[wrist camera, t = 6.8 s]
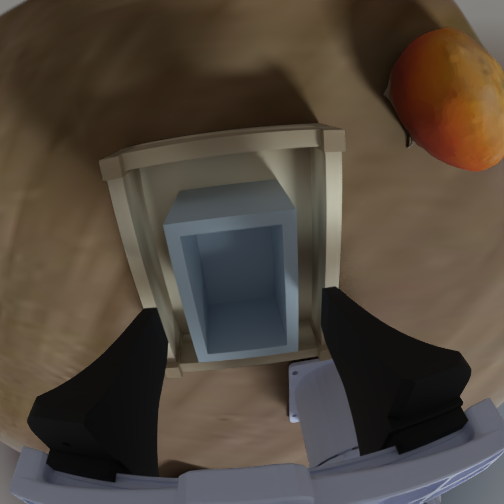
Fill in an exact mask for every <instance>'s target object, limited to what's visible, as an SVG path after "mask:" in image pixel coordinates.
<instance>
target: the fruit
mask: <svg viewBox="0 0 504 504" xmlns="http://www.w3.org/2000/svg"><path fill="white" fill-rule="evenodd" d="M383 95H384V96H385V97H387V98H388V99H389V100H390V102H391V104H392V106H393V107H394V109H395V111H396V113H397V115H398V118H399V119H400V121H401V123H402V124H403V126H404V127H405V128H406V129H407V131H408V132H409V134H410V136H411V141H412V142H411V144H410V145H409V146H408V148H407V149H409V148H410V147H411V146H413V145H414V144H415V143H416V144H417V145H418V146H420V147H422V148H423V149H425V150H426V151H427V152H428V153H429V154H430V155H432V156H433V157H435V158H437V159H438V160H440V161H442V162H445V163H447V164H449V165H452V166H454V167H457V168H461V169H465V170H470V171H482V170H485V169H487V168H489V167H491V166H493V165H495V164H497V163H499V161H500V160H501V159H502V158H503V157H504V73H503V70H502V68H501V67H500V65H499V63H498V62H497V61H496V60H495V59H494V58H493V57H492V56H491V55H490V54H489V53H488V52H487V51H486V50H484V49H483V48H482V47H481V46H480V45H479V44H477V43H476V42H475V41H474V40H473V39H471V38H470V37H469V36H468V35H467V34H465V33H464V32H462V31H460V30H458V29H455V28H452V27H444V28H441V29H437V30H434V31H430V32H427V33H425V34H423V35H421V36H419V37H418V38H416V39H415V40H414V41H413V42H412V43H410V44H409V45H408V46H407V47H406V49H405V50H404V51H403V53H402V54H401V55H400V57H399V58H398V59H397V61H396V62H395V63H394V65H393V67H392V70H391V72H390V77H389V81H388V87H387V89H386V90H385V93H384V94H383Z"/></svg>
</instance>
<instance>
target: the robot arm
mask: <svg viewBox="0 0 504 504" xmlns="http://www.w3.org/2000/svg"><path fill="white" fill-rule="evenodd" d="M321 328H322V332H323V335H324V339H325V342H326V345H327V347H328V350H329V352H330V355H331V357H332V359H330V360H325V361H319V359H313V360H307V361H301V362H295V363H292V364H290V365H289V420H290V422H300V425H301V429H302V434H303V439H304V443H305V448H306V453H307V457H308V462H309V467H310V468H307V467H306V466H303V465H299V464H294V463H286V464H272V465H264V466H254V467H243V468H228V469H202V470H193V471H188V472H186V473H184V474H182V475H180V476H179V478H163V477H159V474H158V457H157V424H158V408H159V400H160V395H161V390H162V385H163V380H164V375H165V370H166V364H167V356H168V339H167V336H166V333H165V330H164V327H163V324H162V321H161V318H160V315H159V312H158V309H157V307H153V308H144V309H143V310H142V311H141V312H140V313H139V314H138V316H137V317H136V318H135V319H134V320H133V321H132V323H131V324H130V325H129V326H128V327H127V328H126V330H125V331H124V332H123V333H122V334H121V335H120V337H119V338H118V339H117V340H116V341H115V342H114V343H113V344H112V345H111V346H110V347H109V348H108V349H107V350H106V351H105V352H104V353H103V354H102V355H101V356H100V357H99V358H98V359H96V360H95V361H94V362H93V363H92V364H91V365H89V366H88V367H87V368H85V369H84V370H83V371H81V372H80V373H79V374H77V375H76V376H75V377H73V378H71V379H70V380H68V381H67V382H65V383H63V384H62V385H60V386H58V387H56V388H54V389H52V390H50V391H48V392H46V393H44V394H42V395H40V396H37V398H36V400H35V402H34V404H33V407H32V409H31V411H30V414H29V416H28V419H27V423H28V425H29V427H30V429H31V430H32V431H33V432H34V434H35V435H36V436H37V437H38V438H39V439H40V440H41V441H43V442H44V443H45V444H46V445H47V446H48V447H49V448H50V451H49V455H48V454H46V453H45V452H42V451H40V450H36V449H32V448H29V447H25V446H24V447H23V448H22V451H21V455H20V457H19V460H18V463H17V466H16V470H15V473H14V476H13V480H12V483H11V486H10V490H9V491H10V493H12V494H13V495H15V496H16V497H18V498H20V499H21V500H23V501H24V502H26V503H27V504H441V502H440V501H441V496H440V495H441V494H442V493H444V492H446V491H448V490H450V489H452V488H454V487H456V486H457V485H459V484H461V483H463V482H464V481H466V480H468V479H470V478H471V477H473V476H475V475H477V474H478V473H480V472H481V471H483V470H485V469H486V468H487V467H488V466H490V465H491V464H492V463H493V462H494V461H495V460H496V459H497V458H498V457H499V456H500V455H501V454H502V453H504V420H503V418H502V417H501V415H500V413H499V412H498V410H497V409H496V407H495V405H494V404H493V402H492V401H491V399H490V398H487V399H485V400H483V401H481V402H479V403H477V404H475V405H473V406H471V407H469V408H468V409H467V410H466V411H465V412H463V410H462V408H461V406H462V405H463V401H462V399H461V398H460V395H461V393H462V391H463V390H464V388H465V386H466V385H467V383H468V381H469V379H470V376H471V368H470V366H469V364H468V363H467V362H466V360H465V359H464V357H463V356H462V355H461V353H460V352H458V351H454V350H449V349H445V348H441V347H437V346H434V345H431V344H428V343H425V342H422V341H420V340H417V339H415V338H412V337H410V336H408V335H406V334H404V333H401V332H399V331H398V330H396V329H394V328H392V327H390V326H388V325H387V324H385V323H383V322H382V321H380V320H379V319H377V318H376V317H374V316H373V315H371V314H370V313H369V312H367V311H366V310H364V309H363V308H362V307H361V306H359V305H358V304H357V303H355V302H354V301H353V300H352V299H350V298H349V297H348V296H347V295H346V294H344V293H343V292H342V291H341V290H340V289H338V288H337V287H336V286H333V287H327V288H322V302H321Z"/></svg>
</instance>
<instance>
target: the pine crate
mask: <svg viewBox="0 0 504 504" xmlns="http://www.w3.org/2000/svg"><path fill="white" fill-rule="evenodd" d="M344 151H345V130H344V129H340V128H336V127H332V126H328V125H324V124H320V123H313V124H292V125H276V126H264V127H252V128H242V129H233V130H225V131H217V132H209V133H202V134H195V135H189V136H182V137H176V138H170V139H165V140H159V141H154V142H149V143H144V144H139V145H134V146H129V147H125V148H123V149H121V150H119V151H117V152H115V153H113V154H111V155H109V156H107V157H105V158H103V159H101V160H99V165H100V170H101V175H102V179H103V182H104V181H107V182H108V187H109V191H110V195H111V200H112V204H113V208H114V212H115V216H116V220H117V224H118V227H119V231H120V235H121V238H122V242H123V245H124V249H125V252H126V256H127V259H128V262H129V266H130V269H131V272H132V275H133V278H134V282H135V285H136V288H137V291H138V294H139V297H140V300H141V302H142V305H143V308H153V307H157V309H158V312H159V315H160V318H161V321H162V324H163V327H164V330H165V333H166V336H167V339H168V356H167V364H166V370H165V373H166V375H167V378H180V377H182V374H183V372H188V371H202V370H215V369H226V368H236V367H245V366H254V365H262V364H270V363H277V362H284V361H291V360H298V359H304V358H310V357H316V356H318V358H319V361H325V360H330V359H332V357H331V355H330V352H329V350H328V347H327V345H326V342H325V339H324V335H323V332H322V328H321V302H322V288H327V287H333V286H336V287H337V288H338V287H339V271H340V252H341V224H342V152H344ZM274 179H277V180H278V181H279V183H280V185H281V186H282V188H283V189H284V191H285V192H286V194H287V195H288V197H289V198H290V200H291V202H292V203H293V205H294V206H295V208H296V215H297V247H298V351H296V352H289V353H282V354H275V355H268V356H260V357H251V358H243V359H233V360H223V361H211V362H199V361H198V358H197V355H196V351H195V348H194V345H193V341H192V338H191V334H190V331H189V327H188V324H187V320H186V317H185V313H184V309H183V306H182V302H181V298H180V294H179V291H178V287H177V283H176V279H175V275H174V271H173V267H172V262H171V258H170V254H169V250H168V245H167V241H166V236H165V232H164V227H163V224H164V222H165V220H166V218H167V216H168V213H169V211H170V209H171V207H172V205H173V203H174V201H175V199H176V197H177V195H178V193H179V191H182V190H189V189H196V188H204V187H211V186H219V185H228V184H236V183H245V182H254V181H264V180H274Z"/></svg>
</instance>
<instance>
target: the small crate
mask: <svg viewBox="0 0 504 504" xmlns="http://www.w3.org/2000/svg"><path fill="white" fill-rule="evenodd" d="M163 227H164V232H165V236H166V241H167V245H168V250H169V254H170V258H171V262H172V267H173V271H174V275H175V279H176V283H177V287H178V291H179V294H180V298H181V302H182V306H183V309H184V313H185V317H186V320H187V324H188V327H189V331H190V334H191V338H192V341H193V345H194V348H195V351H196V355H197V358H198V361H199V362H211V361H223V360H233V359H243V358H251V357H260V356H268V355H275V354H282V353H289V352H296V351H298V247H297V215H296V208H295V206H294V205H293V203H292V202H291V200H290V198H289V197H288V195H287V194H286V192H285V191H284V189H283V188H282V186H281V185H280V183H279V181H278V180H277V179H274V180H264V181H254V182H245V183H236V184H228V185H219V186H211V187H204V188H196V189H189V190H182V191H179V193H178V195H177V197H176V199H175V201H174V203H173V205H172V207H171V209H170V211H169V213H168V216H167V218H166V220H165V222H164V224H163Z"/></svg>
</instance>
